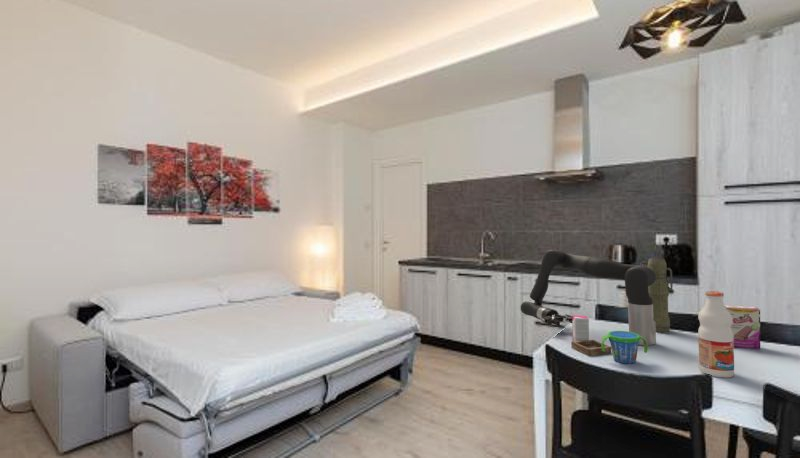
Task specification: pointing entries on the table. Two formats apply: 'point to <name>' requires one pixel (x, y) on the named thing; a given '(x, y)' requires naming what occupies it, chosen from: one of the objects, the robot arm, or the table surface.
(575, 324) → the supplement box
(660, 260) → the thermos
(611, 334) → the snack cup
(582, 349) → the wooden square frame
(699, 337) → the fruit juice
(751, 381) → the table surface
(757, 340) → the candy bar box
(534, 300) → the robot arm
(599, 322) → the table surface
